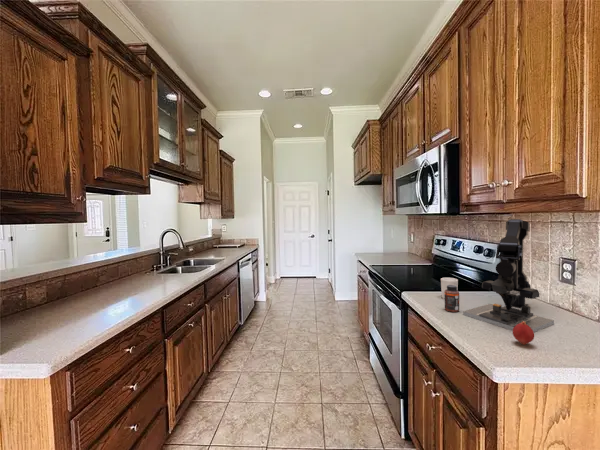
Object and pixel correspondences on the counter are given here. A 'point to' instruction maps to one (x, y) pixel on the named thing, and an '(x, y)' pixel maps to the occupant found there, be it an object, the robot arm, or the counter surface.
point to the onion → (523, 333)
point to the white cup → (447, 282)
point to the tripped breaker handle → (497, 307)
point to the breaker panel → (530, 323)
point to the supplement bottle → (452, 298)
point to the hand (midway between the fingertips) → (508, 309)
